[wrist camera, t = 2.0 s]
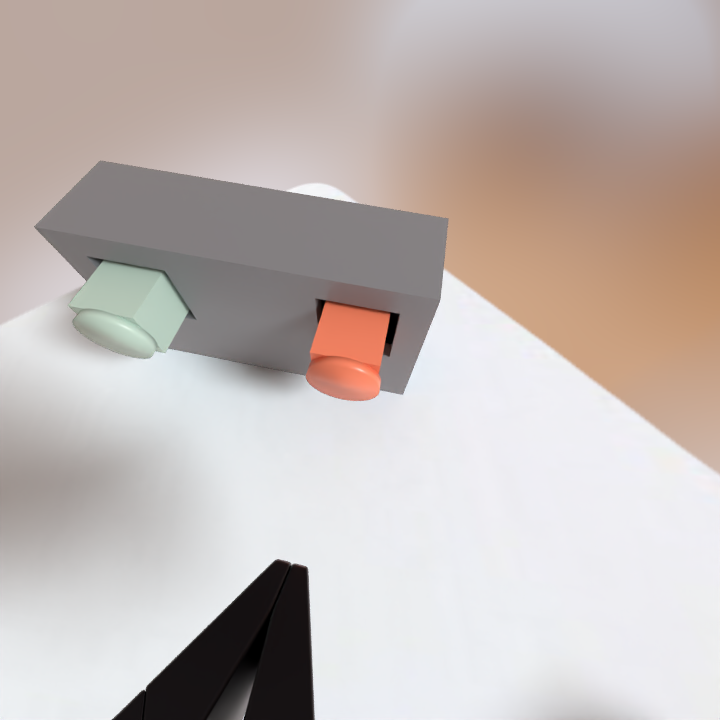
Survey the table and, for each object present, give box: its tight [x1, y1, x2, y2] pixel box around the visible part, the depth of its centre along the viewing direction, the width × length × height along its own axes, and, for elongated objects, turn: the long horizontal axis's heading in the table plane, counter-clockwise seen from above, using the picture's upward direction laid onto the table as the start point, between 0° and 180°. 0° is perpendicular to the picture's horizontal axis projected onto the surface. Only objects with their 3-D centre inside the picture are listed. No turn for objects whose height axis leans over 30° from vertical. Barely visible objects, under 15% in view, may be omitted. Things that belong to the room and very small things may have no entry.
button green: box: [68, 260, 190, 359], centre depth 20 cm, size 5×4×4 cm
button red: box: [306, 300, 391, 401], centre depth 19 cm, size 5×4×4 cm
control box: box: [34, 161, 448, 394], centre depth 23 cm, size 6×21×12 cm, turn 79°
